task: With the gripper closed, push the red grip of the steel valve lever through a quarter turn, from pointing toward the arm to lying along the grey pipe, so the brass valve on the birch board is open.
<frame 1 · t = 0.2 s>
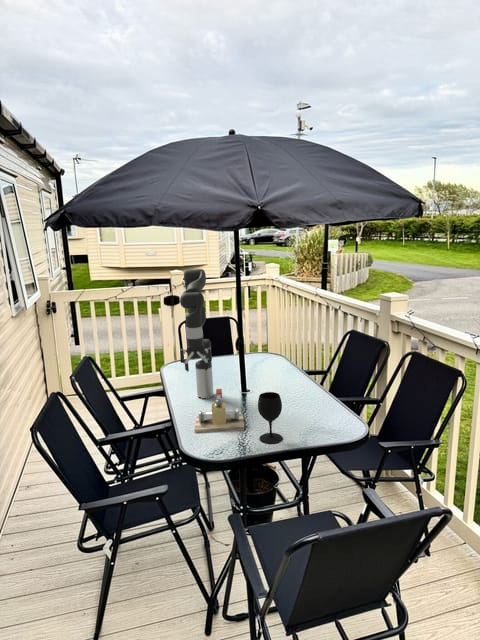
hand: (197, 370, 196), 28 cm above the table, tool pointing down, fingers open, 8 cm apart
valve lever: (218, 397, 210), point 11 cm above the table, hinge at 0.0°
mounting board: (219, 424, 205), on the table
wine glass: (271, 439, 188), on the table
valve: (219, 413, 204), on the mounting board, point 6 cm above the table
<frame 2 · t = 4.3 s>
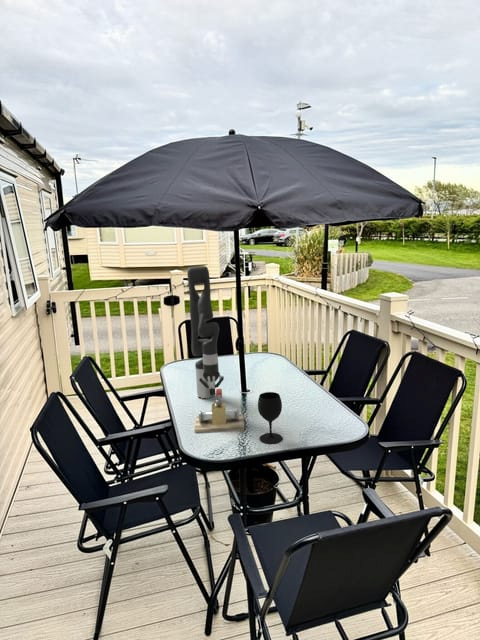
hand: (212, 395, 215), 10 cm above the table, tool pointing down, fingers closed
valve lever: (218, 397, 210), point 11 cm above the table, hinge at 0.1°, touching gripper
everything else where it was.
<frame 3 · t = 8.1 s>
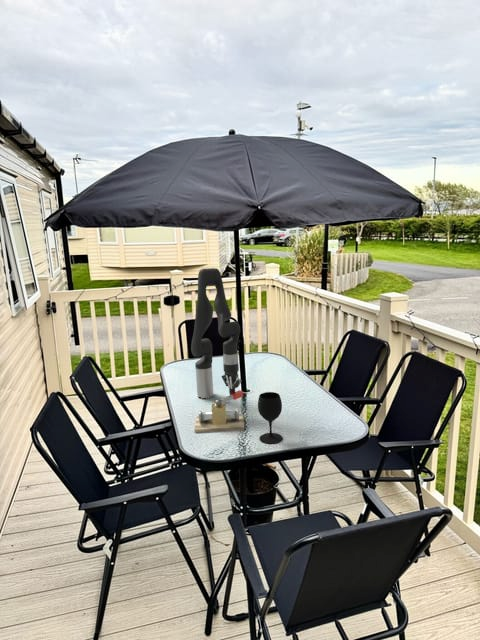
hand: (232, 395, 214), 10 cm above the table, tool pointing down, fingers closed
valve lever: (228, 398, 208), point 11 cm above the table, hinge at 46.0°, touching gripper
everything else where it was.
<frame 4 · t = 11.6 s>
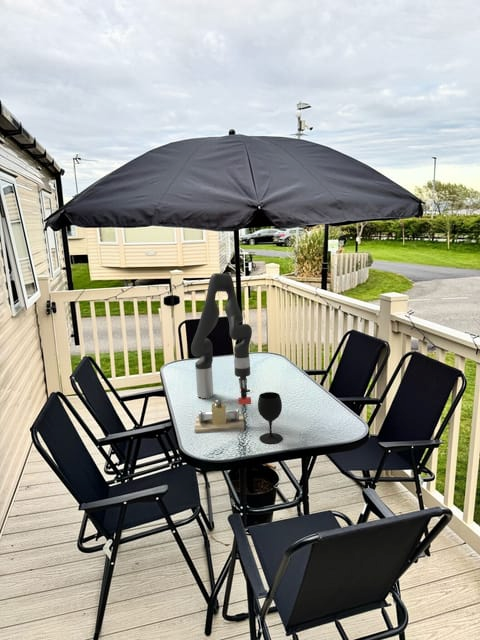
hand: (243, 399, 207), 10 cm above the table, tool pointing down, fingers closed
valve lever: (233, 401, 203), point 11 cm above the table, hinge at 88.6°
everything else where it was.
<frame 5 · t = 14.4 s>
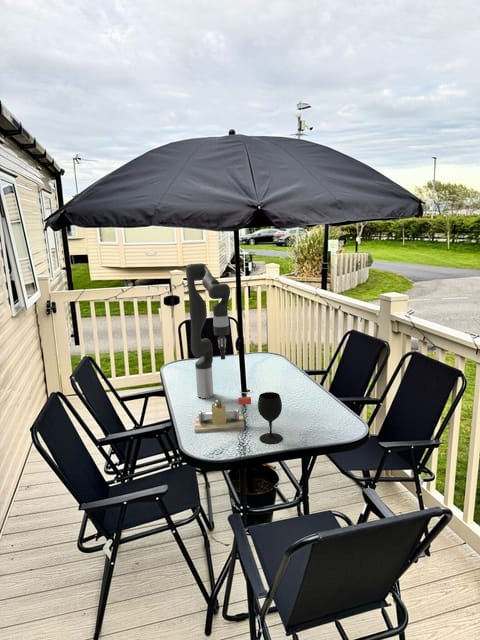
hand: (223, 359, 212), 29 cm above the table, tool pointing down, fingers closed
nothing on the table moved.
at the end: valve lever at +89° (first picture: +0°); wine glass moved 0.2 cm from its start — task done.
